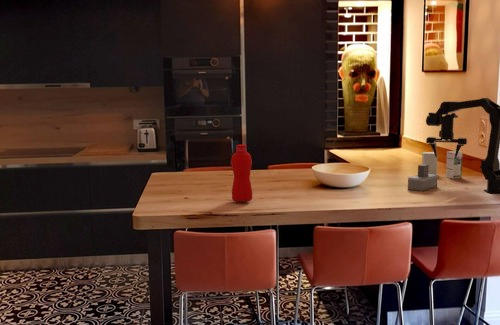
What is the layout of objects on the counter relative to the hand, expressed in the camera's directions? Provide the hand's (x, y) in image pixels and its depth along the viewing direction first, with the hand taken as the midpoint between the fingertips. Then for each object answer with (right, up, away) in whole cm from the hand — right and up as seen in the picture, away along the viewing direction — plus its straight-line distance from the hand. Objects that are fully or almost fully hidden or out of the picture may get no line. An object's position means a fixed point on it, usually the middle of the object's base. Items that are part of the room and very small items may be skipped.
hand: (445, 157), depth 260 cm
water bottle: (-102, -19, -26) cm, 107 cm away
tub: (-14, -15, -7) cm, 22 cm away
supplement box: (+2, -10, +31) cm, 32 cm away
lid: (-14, -10, -7) cm, 19 cm away
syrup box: (+12, -11, +21) cm, 26 cm away
